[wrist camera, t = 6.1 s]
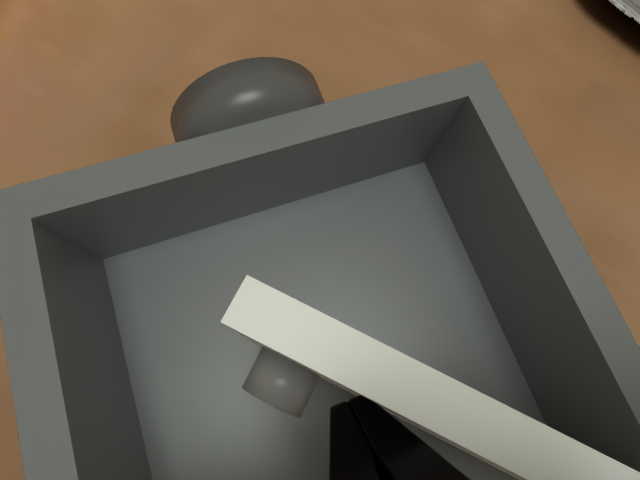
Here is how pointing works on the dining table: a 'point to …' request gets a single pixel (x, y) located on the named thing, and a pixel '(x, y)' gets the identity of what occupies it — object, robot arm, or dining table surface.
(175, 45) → the dining table surface
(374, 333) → the grey open box
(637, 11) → the food plate
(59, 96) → the dining table surface
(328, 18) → the dining table surface
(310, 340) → the side door
